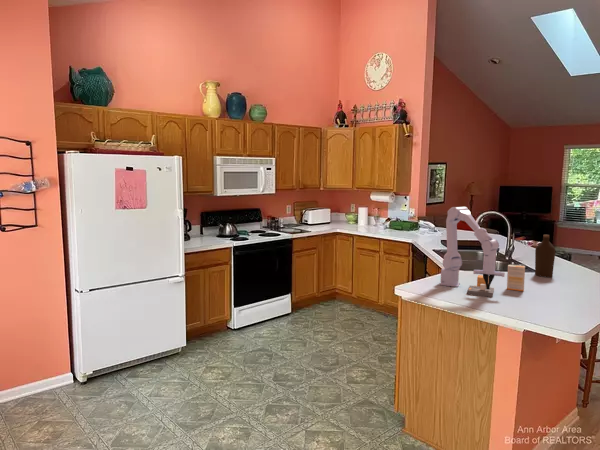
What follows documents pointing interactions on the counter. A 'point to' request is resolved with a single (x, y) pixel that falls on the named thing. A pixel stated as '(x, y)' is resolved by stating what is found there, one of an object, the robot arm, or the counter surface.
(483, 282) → the cap
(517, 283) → the supplement box
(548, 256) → the olive oil
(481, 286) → the switch
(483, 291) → the breaker panel
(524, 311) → the counter surface
